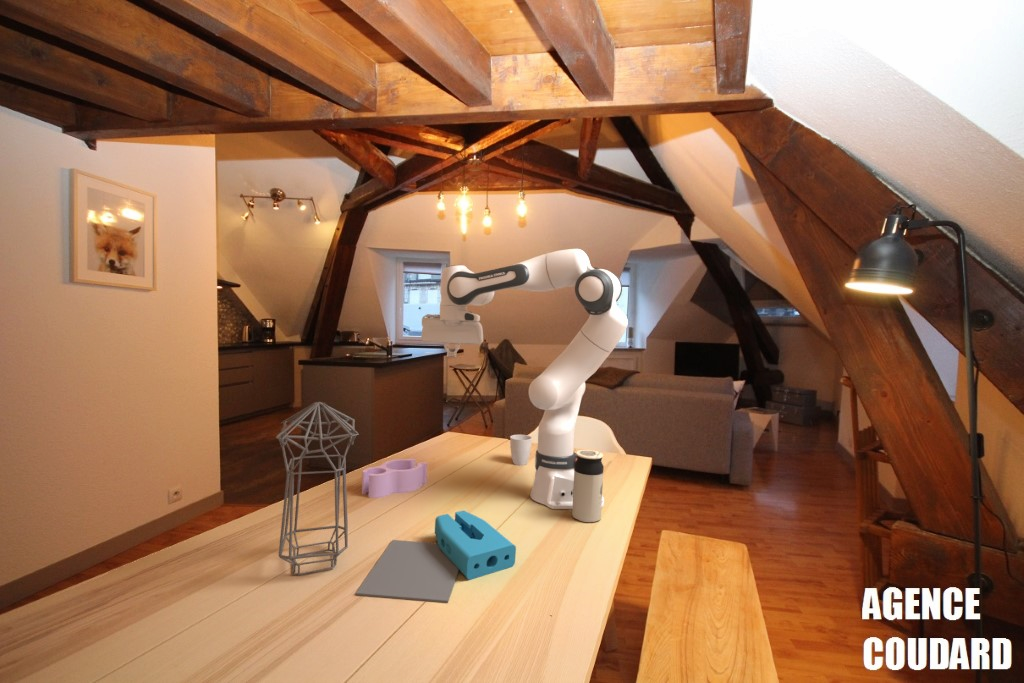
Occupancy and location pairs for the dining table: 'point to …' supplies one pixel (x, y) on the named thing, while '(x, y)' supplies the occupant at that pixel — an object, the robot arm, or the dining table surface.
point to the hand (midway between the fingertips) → (451, 357)
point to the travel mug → (588, 486)
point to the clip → (394, 477)
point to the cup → (520, 448)
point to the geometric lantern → (351, 434)
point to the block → (473, 544)
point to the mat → (411, 573)
